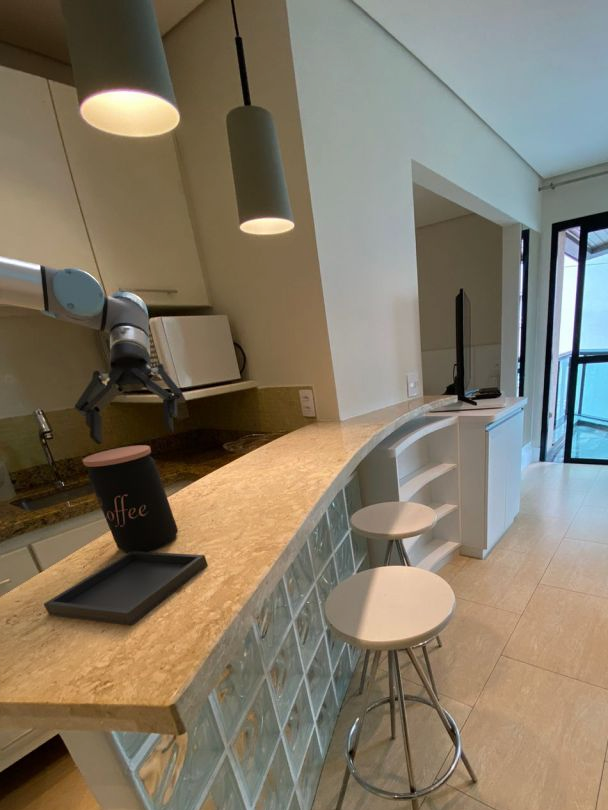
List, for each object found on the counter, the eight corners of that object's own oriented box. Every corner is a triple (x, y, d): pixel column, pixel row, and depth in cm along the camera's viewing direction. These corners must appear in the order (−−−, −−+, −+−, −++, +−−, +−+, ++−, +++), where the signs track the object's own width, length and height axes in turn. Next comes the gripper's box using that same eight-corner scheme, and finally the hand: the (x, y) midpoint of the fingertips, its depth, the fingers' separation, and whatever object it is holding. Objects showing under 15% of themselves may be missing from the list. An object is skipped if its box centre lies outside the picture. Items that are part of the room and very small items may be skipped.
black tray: (48, 615, 59) (42, 603, 58) (135, 560, 73) (131, 550, 72) (132, 625, 55) (126, 613, 54) (207, 565, 68) (204, 554, 67)
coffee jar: (105, 555, 76) (66, 462, 69) (148, 529, 86) (117, 446, 79) (152, 556, 73) (116, 460, 66) (191, 530, 83) (163, 443, 76)
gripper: (56, 347, 83) (51, 433, 75) (184, 334, 88) (192, 414, 80) (77, 373, 90) (75, 454, 82) (196, 359, 95) (204, 435, 87)
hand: (133, 435), depth 81 cm, fingers open, 13 cm apart
